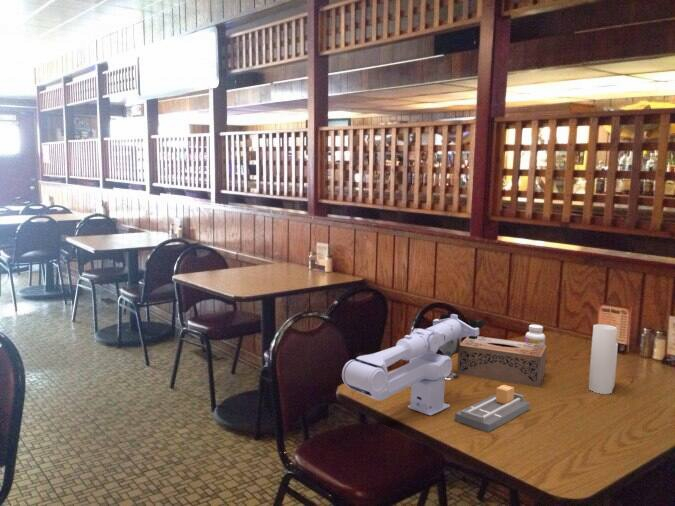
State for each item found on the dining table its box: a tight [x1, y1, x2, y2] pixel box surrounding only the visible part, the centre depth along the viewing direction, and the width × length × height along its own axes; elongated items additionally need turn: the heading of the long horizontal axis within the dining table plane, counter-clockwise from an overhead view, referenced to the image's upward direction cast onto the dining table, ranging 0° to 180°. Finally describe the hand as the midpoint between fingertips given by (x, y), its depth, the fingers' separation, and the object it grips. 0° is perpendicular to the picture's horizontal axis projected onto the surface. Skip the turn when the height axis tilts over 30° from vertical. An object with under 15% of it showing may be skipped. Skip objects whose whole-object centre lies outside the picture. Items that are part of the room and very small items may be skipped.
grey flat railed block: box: [454, 392, 531, 433], centre depth 158 cm, size 23×10×3 cm, turn 135°
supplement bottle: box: [524, 324, 546, 345], centre depth 206 cm, size 7×7×13 cm
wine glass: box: [438, 338, 462, 380], centre depth 189 cm, size 8×8×15 cm
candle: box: [588, 323, 619, 395], centre depth 180 cm, size 11×7×20 cm, turn 149°
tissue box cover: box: [456, 335, 547, 388], centre depth 192 cm, size 26×14×10 cm, turn 64°
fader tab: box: [495, 384, 515, 404], centre depth 162 cm, size 4×3×4 cm
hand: (470, 320), depth 174 cm, fingers open, 7 cm apart
